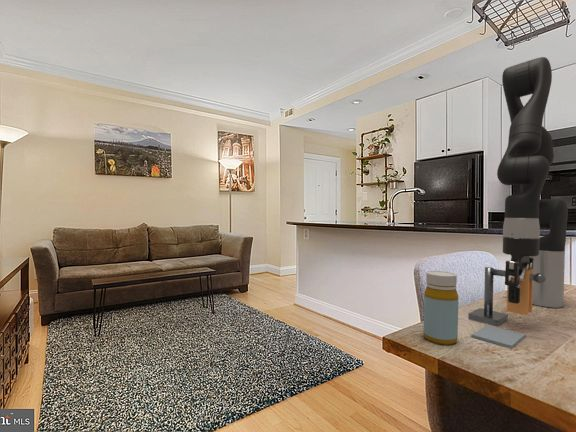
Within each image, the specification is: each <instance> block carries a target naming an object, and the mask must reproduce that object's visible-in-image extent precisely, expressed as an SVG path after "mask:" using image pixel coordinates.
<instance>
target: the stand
mask: <svg viewBox="0 0 576 432" xmlns="http://www.w3.org/2000/svg"><path fill="white" fill-rule="evenodd" d="M494 276H498V277H504V278H505V270H504V269H498V268H496V269H495V268H494V267H492V266H491V267H490V266H485V267H484V289H483V290H484V292H483V293H484V294H483V295H484V296H483V298H484V299H483V308H482V307H479V308H477V309H475V310H472V311H471V312H469V313H468V316H467V317H468V320H471V321H475V322H479V323H483V324H487V325H489V326H493V327H499V326H501V325H502V324H504V323H505V322H506V321H508V320H509V314H508V313H504V312H499V311H495V310H494V307H493V306H494ZM529 280H532V281H536V282H537V283H544V282H545V281H546V277H545V275H543V274H541V273H537V274H530V275H529Z"/></svg>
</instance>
